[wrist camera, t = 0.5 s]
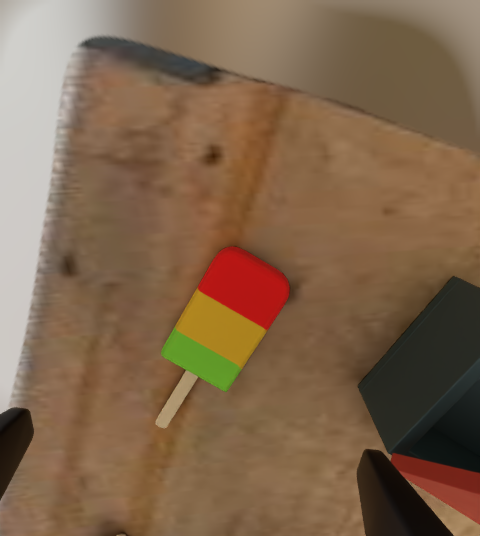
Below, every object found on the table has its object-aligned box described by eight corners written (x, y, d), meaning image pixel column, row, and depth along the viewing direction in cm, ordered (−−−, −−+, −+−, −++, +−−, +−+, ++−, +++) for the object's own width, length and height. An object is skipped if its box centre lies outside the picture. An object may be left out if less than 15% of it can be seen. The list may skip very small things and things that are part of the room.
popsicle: (296, 278, 23) (298, 286, 21) (193, 434, 26) (188, 452, 24) (226, 237, 22) (222, 242, 20) (132, 401, 26) (122, 417, 24)
